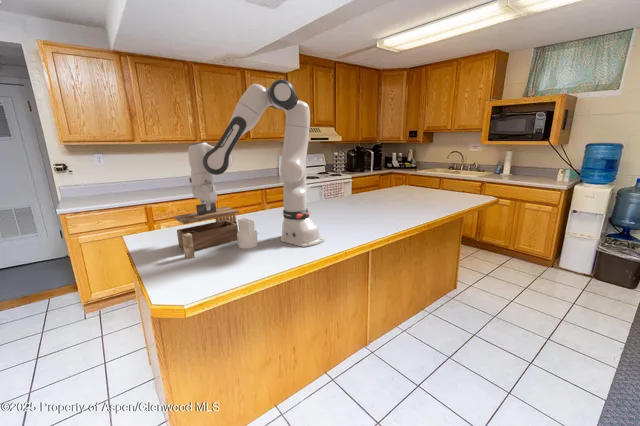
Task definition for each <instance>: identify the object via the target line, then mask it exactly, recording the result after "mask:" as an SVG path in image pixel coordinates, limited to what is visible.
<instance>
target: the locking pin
mask: <svg viewBox="0 0 640 426" xmlns="http://www.w3.org/2000/svg"><path fill="white" fill-rule="evenodd" d="M182 240H183V247H184V250H183V252H184V258H185V259H186V260H190V259H194V258H195V257H196V256H195V252H194V247H193V240H192V234H190V233H187V234H183V235H182Z"/></svg>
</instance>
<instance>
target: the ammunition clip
mask: <svg viewBox="0 0 640 426" xmlns="http://www.w3.org/2000/svg"><path fill="white" fill-rule="evenodd" d="M223 220H228V221H230V222H233V223H235V224H237V225H238V221H237V216H236V214H232V215H227V216H222V217H217V218H215V222H218V221H223Z"/></svg>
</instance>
